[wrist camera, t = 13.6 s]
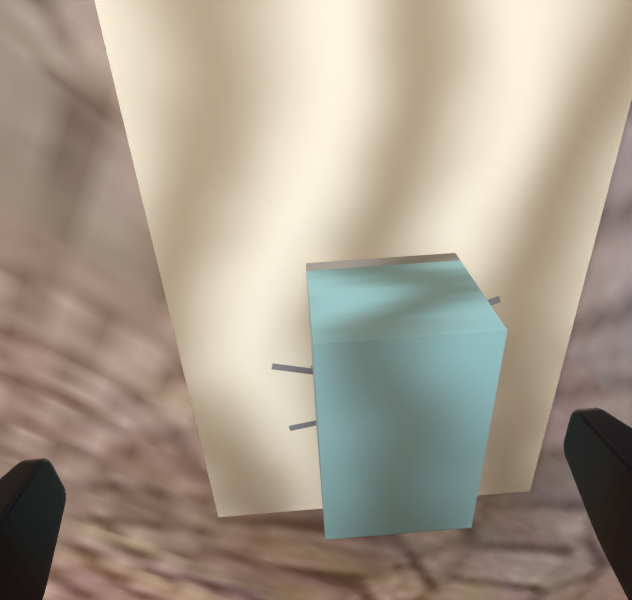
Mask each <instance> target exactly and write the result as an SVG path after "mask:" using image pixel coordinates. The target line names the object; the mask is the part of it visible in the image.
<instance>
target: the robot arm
mask: <svg viewBox="0 0 632 600" xmlns="http://www.w3.org/2000/svg"><path fill="white" fill-rule="evenodd" d="M564 453H565V456H566V459H567V462H568V464H569V467H570V469H571V472H572V475H573V477H574V480H575V482H576V485H577V487H578V490H579V493H580V495H581V498H582V500H583V503H584V505H585V508H586V511H587V513H588V516H589V518H590V521H591V523H592V526H593V528H594V531H595V533H596V536H597V538H598V540H599V543H600V545H601V547H602V549H603V551H604V553H605V555H606V557H607V559H608V561H609V563H610V565H611V567H612V569H613V571H614V573H615V575H616V577H617V578H618V580H619V582H620V584H621V586H622V588H623V590H624V592H625V594H626V596H627V598H628V600H632V428H631V427H629V426H627V425H626V424H624V423H623V422H621V421H620V420H618V419H616V418H615V417H613V416H612V415H610V414H608V413H607V412H605V411H604V410H602V409H599V408H588V409H578V410H575V411H574V412H573V413H572V415H571V417H570V421H569V425H568V429H567V432H566V436H565V440H564ZM65 502H66V492H65V488H64V486H63V484H62V482H61V480H60V478H59V477H58V475H57V473H56V471H55V469H54V467H53V465H52V463H51V462H50V461H49V460H47V459H44V458H43V459H32V460H24V461H22V462H20V463H18V464H17V465H16V466H15V467H13V468H12V469H11V470H10V471H9V472H8V473H6V474H5V475H4V476H3V477H2V478H1V479H0V600H42V599H43V596H44V593H45V589H46V585H47V581H48V577H49V573H50V568H51V564H52V560H53V555H54V551H55V546H56V542H57V538H58V533H59V529H60V524H61V520H62V516H63V511H64V507H65Z"/></svg>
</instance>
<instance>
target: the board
mask: <svg viewBox="0 0 632 600" xmlns="http://www.w3.org/2000/svg"><path fill="white" fill-rule="evenodd" d="M95 4H96V9H97V13H98V17H99V21H100V25H101V29H102V34H103V38H104V42H105V46H106V50H107V55H108V59H109V63H110V67H111V71H112V75H113V80H114V84H115V88H116V92H117V96H118V100H119V105H120V109H121V113H122V117H123V121H124V125H125V130H126V134H127V138H128V142H129V146H130V150H131V155H132V159H133V163H134V167H135V171H136V176H137V180H138V184H139V188H140V192H141V196H142V201H143V205H144V209H145V213H146V217H147V221H148V226H149V230H150V234H151V238H152V242H153V246H154V251H155V255H156V259H157V263H158V267H159V271H160V276H161V280H162V284H163V288H164V292H165V297H166V301H167V305H168V309H169V313H170V317H171V322H172V326H173V330H174V334H175V338H176V342H177V347H178V351H179V355H180V359H181V363H182V367H183V372H184V376H185V380H186V384H187V388H188V392H189V397H190V401H191V405H192V409H193V413H194V418H195V422H196V426H197V430H198V434H199V438H200V443H201V447H202V451H203V455H204V459H205V463H206V468H207V472H208V476H209V480H210V484H211V488H212V493H213V497H214V501H215V505H216V509H217V513H218V517H227V516H239V515H251V514H263V513H275V512H287V511H299V510H311V509H323V504H322V492H321V479H320V467H319V454H318V442H317V427H316V412H315V396H314V381H313V366H312V350H311V335H310V319H309V304H308V289H307V273H306V263H317V262H331V261H346V260H360V259H375V258H389V257H404V256H418V255H433V254H447V253H456V255H457V256H458V258H459V259H460V261H461V262H462V264H463V265H464V267H465V268H466V270H467V271H468V272H469V274H470V275H471V277H472V278H473V280H474V281H475V283H476V284H477V286H478V287H479V289H480V290H481V292H482V293H483V295H484V296H485V298H486V299H487V301H488V302H489V303H490V305H491V306H492V308H493V309H494V311H495V312H496V314H497V315H498V317H499V318H500V320H501V321H502V323H503V324H504V326H505V327H506V329H507V330H508V331H507V336H506V341H505V347H504V352H503V358H502V363H501V369H500V374H499V380H498V385H497V391H496V396H495V402H494V407H493V413H492V418H491V424H490V429H489V435H488V440H487V446H486V451H485V457H484V462H483V467H482V473H481V478H480V484H479V489H478V495H477V496H479V495H491V494H503V493H515V492H527V491H530V489H531V485H532V481H533V477H534V473H535V470H536V466H537V462H538V458H539V454H540V450H541V447H542V443H543V439H544V435H545V431H546V427H547V423H548V420H549V416H550V412H551V408H552V404H553V400H554V396H555V393H556V389H557V385H558V381H559V377H560V373H561V370H562V366H563V362H564V358H565V354H566V350H567V346H568V343H569V339H570V335H571V331H572V327H573V323H574V319H575V316H576V312H577V308H578V304H579V300H580V296H581V293H582V289H583V285H584V281H585V277H586V273H587V269H588V266H589V262H590V258H591V254H592V250H593V246H594V242H595V239H596V235H597V231H598V227H599V223H600V219H601V216H602V212H603V208H604V204H605V200H606V196H607V192H608V189H609V185H610V181H611V177H612V173H613V169H614V166H615V162H616V158H617V154H618V150H619V146H620V142H621V139H622V135H623V131H624V127H625V123H626V119H627V115H628V112H629V108H630V104H631V100H632V0H95Z"/></svg>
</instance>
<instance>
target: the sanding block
mask: <svg viewBox="0 0 632 600" xmlns="http://www.w3.org/2000/svg"><path fill="white" fill-rule="evenodd" d="M306 273H307V289H308V304H309V319H310V335H311V350H312V366H313V381H314V396H315V412H316V427H317V442H318V454H319V467H320V479H321V492H322V504H323V517H324V529H325V540H328V539H340V538H352V537H364V536H376V535H388V534H400V533H412V532H424V531H436V530H448V529H460V528H472V522H473V517H474V511H475V506H476V500H477V495H478V489H479V484H480V478H481V473H482V467H483V462H484V457H485V451H486V446H487V440H488V435H489V429H490V424H491V418H492V413H493V407H494V402H495V396H496V391H497V385H498V380H499V374H500V369H501V363H502V358H503V352H504V347H505V341H506V336H507V331H508V330H507V329H506V327H505V326H504V324H503V323H502V321H501V320H500V318H499V317H498V315H497V314H496V312H495V311H494V309H493V308H492V306H491V305H490V303H489V302H488V301H487V299H486V298H485V296H484V295H483V293H482V292H481V290H480V289H479V287H478V286H477V284H476V283H475V281H474V280H473V278H472V277H471V275H470V274H469V272H468V271H467V270H466V268H465V267H464V265H463V264H462V262H461V261H460V259H459V258H458V256H457V255H456V253H447V254H433V255H418V256H404V257H389V258H375V259H360V260H346V261H331V262H317V263H306Z"/></svg>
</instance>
